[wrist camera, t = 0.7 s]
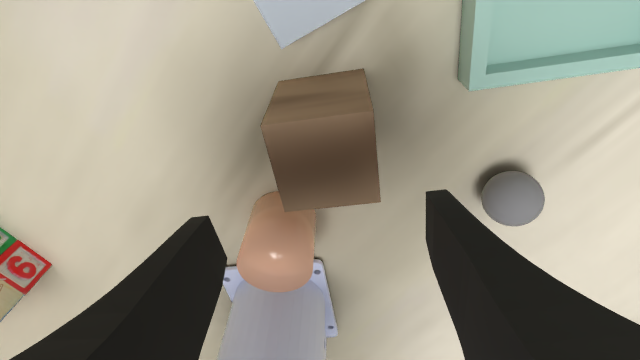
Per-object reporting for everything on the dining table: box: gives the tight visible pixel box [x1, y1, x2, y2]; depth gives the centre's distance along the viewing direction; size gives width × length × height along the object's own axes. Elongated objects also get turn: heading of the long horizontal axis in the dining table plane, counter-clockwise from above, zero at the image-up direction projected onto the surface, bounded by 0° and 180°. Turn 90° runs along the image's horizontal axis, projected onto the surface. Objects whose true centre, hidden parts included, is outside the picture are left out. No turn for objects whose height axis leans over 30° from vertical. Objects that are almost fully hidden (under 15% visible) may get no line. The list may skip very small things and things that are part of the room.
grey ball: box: [482, 171, 545, 226], centre depth 20 cm, size 3×3×3 cm
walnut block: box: [261, 69, 381, 212], centre depth 17 cm, size 4×4×6 cm
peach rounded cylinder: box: [237, 191, 316, 292], centre depth 22 cm, size 4×4×4 cm
